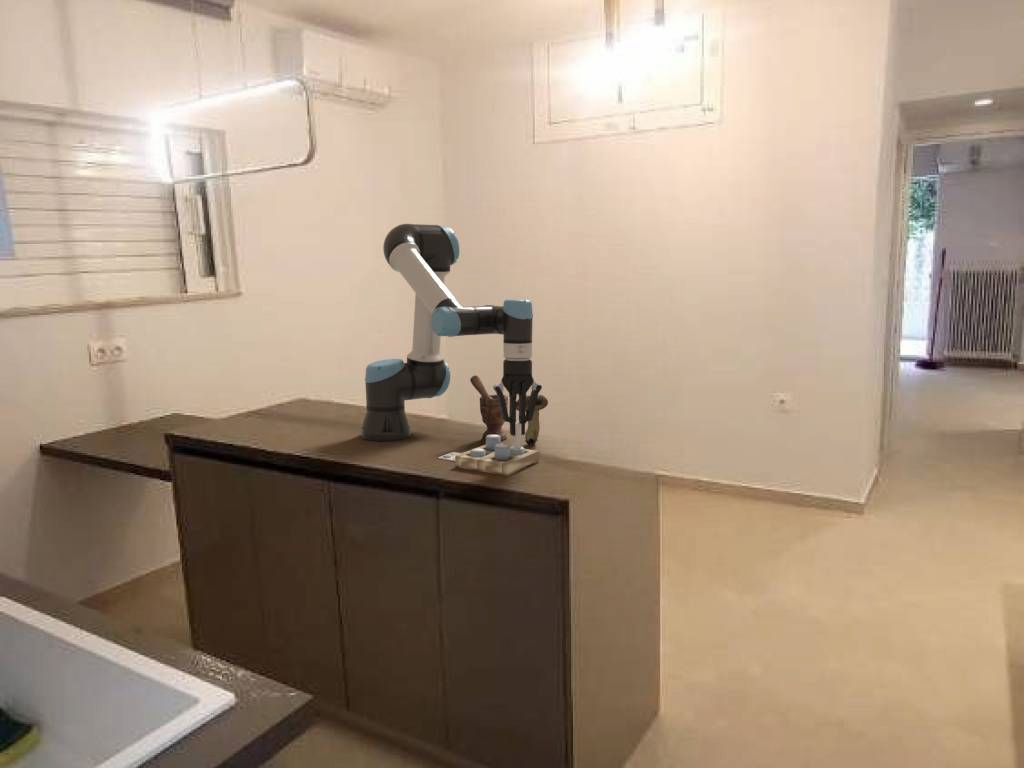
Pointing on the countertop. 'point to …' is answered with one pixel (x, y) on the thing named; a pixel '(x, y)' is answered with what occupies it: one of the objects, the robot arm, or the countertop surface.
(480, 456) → the button
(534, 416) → the mushroom
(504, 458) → the button
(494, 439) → the button
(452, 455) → the card
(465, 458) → the wooden compartment tray
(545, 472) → the countertop surface
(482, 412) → the mortar and pestle
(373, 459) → the countertop surface
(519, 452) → the button
